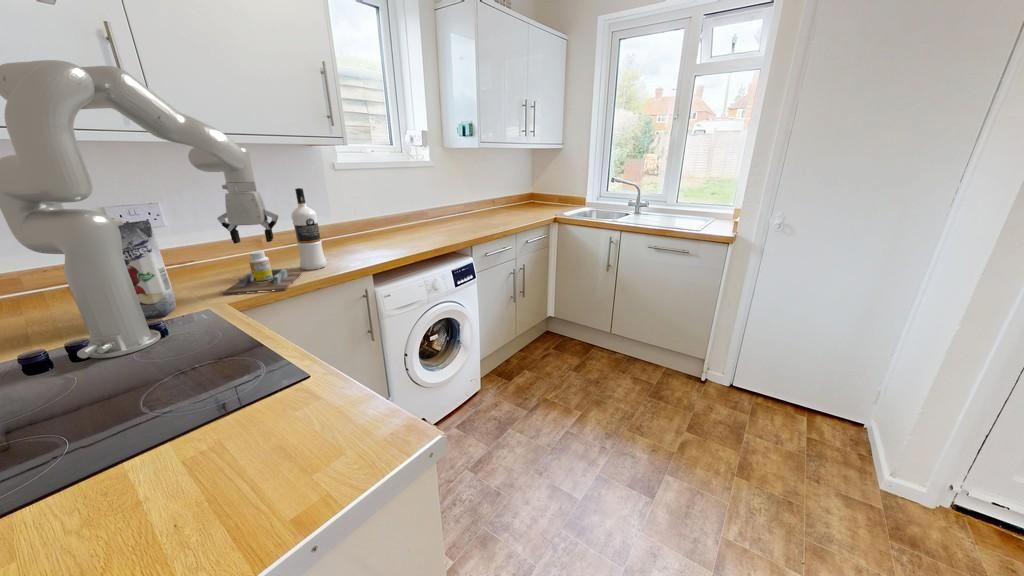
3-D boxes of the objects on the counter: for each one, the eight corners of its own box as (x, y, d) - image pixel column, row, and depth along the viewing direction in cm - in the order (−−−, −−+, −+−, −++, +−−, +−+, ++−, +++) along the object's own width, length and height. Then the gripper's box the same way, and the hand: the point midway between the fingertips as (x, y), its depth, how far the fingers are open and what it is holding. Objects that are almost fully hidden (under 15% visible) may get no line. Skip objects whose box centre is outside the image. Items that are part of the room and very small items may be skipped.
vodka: (322, 262, 157) (308, 186, 147) (330, 267, 151) (316, 188, 141) (297, 267, 151) (281, 188, 141) (305, 272, 145) (288, 190, 135)
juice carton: (137, 312, 110) (102, 217, 101) (181, 306, 114) (151, 214, 105) (120, 324, 103) (80, 222, 94) (168, 318, 106) (135, 219, 97)
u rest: (285, 290, 126) (282, 280, 125) (223, 295, 122) (220, 284, 121) (301, 274, 142) (300, 265, 141) (247, 278, 139) (245, 268, 138)
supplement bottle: (257, 280, 133) (250, 251, 130) (275, 278, 135) (268, 249, 132) (252, 285, 128) (244, 255, 125) (271, 283, 130) (264, 253, 127)
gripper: (204, 189, 116) (218, 245, 122) (267, 188, 120) (278, 242, 125) (217, 188, 123) (229, 241, 129) (276, 187, 127) (286, 238, 132)
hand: (253, 242), depth 127 cm, fingers open, 9 cm apart
